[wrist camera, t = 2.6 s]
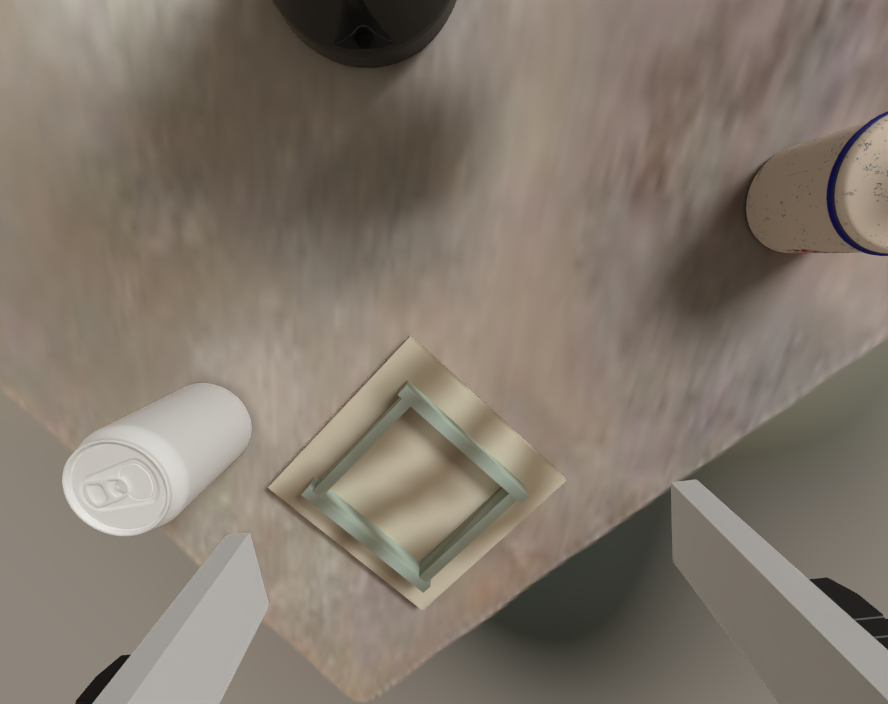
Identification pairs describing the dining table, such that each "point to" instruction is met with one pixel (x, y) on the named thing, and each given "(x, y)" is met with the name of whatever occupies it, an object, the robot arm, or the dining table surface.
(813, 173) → the teacup with lid
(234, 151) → the dining table surface
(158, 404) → the beverage can
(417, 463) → the board
